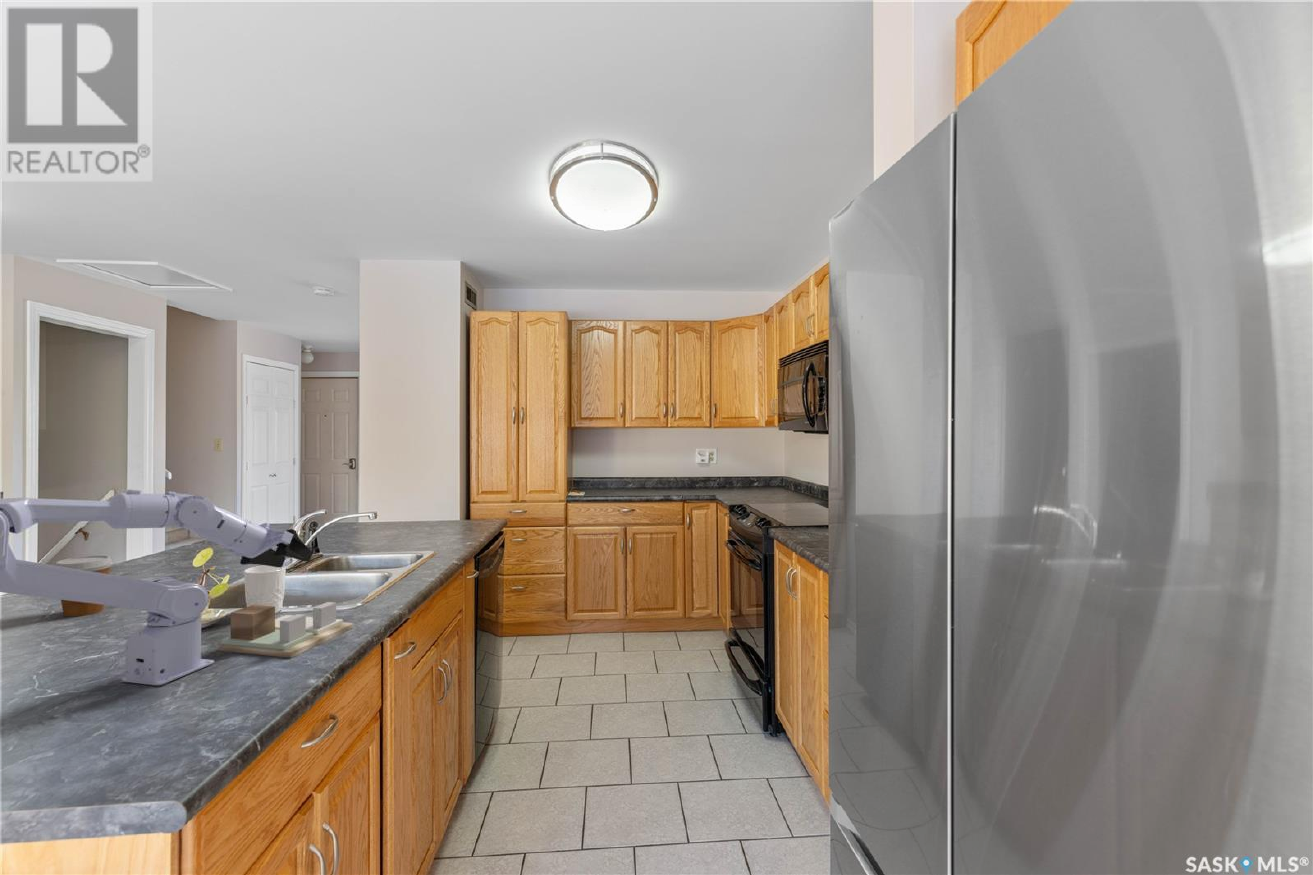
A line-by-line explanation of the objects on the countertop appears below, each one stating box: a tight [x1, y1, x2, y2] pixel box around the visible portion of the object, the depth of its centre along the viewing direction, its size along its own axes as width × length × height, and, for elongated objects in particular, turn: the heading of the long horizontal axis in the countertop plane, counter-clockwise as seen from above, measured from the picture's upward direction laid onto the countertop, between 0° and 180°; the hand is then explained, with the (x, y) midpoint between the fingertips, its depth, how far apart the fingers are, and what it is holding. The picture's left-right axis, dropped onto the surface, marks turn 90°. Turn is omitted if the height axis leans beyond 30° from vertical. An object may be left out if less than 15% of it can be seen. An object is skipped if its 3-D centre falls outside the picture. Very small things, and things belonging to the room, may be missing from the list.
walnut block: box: [229, 605, 276, 640], centre depth 110 cm, size 5×5×5 cm
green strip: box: [221, 613, 314, 650], centre depth 109 cm, size 7×14×5 cm, turn 79°
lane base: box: [218, 622, 354, 658], centre depth 113 cm, size 16×16×1 cm
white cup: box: [243, 564, 287, 614], centre depth 129 cm, size 8×8×10 cm
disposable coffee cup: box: [54, 554, 114, 618], centre depth 127 cm, size 10×10×12 cm
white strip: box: [275, 601, 344, 635], centre depth 117 cm, size 7×14×5 cm, turn 79°
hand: (296, 559), depth 116 cm, fingers open, 7 cm apart
